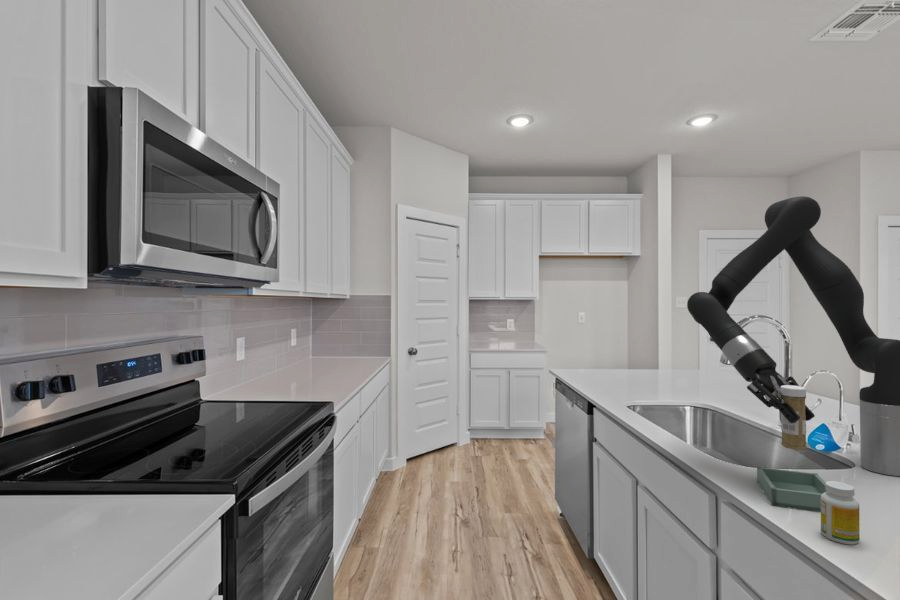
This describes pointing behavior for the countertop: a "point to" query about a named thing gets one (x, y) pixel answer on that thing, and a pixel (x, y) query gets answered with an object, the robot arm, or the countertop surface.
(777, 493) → the bin
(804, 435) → the amber pill bottle
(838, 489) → the supplement bottle
